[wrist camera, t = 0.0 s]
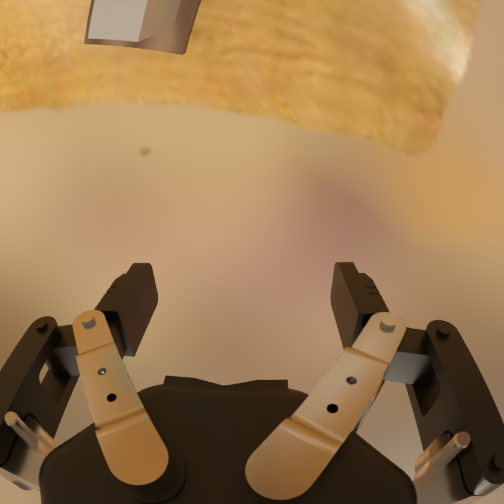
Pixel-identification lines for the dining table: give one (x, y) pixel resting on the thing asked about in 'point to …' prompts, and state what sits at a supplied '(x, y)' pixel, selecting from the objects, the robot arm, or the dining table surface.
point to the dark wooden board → (165, 40)
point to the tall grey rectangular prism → (131, 18)
